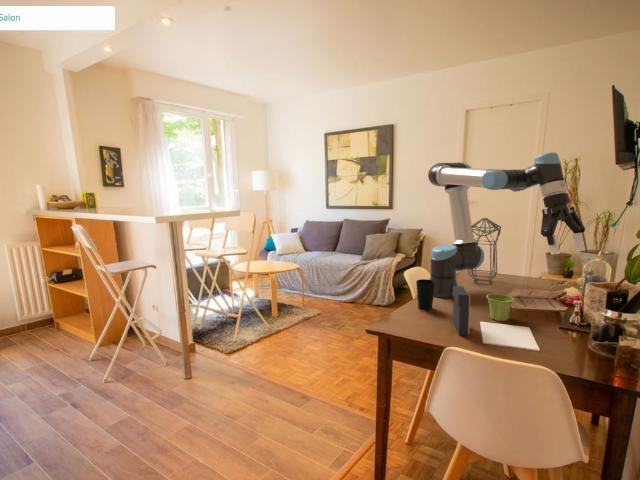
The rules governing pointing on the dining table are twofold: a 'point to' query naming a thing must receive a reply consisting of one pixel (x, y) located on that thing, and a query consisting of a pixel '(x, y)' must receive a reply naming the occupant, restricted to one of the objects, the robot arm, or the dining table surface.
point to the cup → (425, 294)
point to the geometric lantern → (487, 244)
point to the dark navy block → (461, 310)
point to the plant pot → (499, 306)
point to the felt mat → (508, 336)
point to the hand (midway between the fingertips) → (568, 252)
